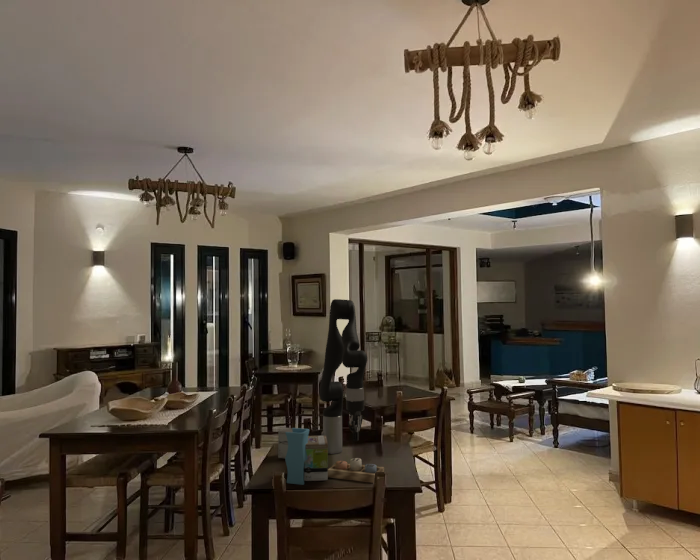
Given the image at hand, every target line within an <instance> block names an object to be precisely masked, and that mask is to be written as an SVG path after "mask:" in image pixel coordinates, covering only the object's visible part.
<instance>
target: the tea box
mask: <svg viewBox="0 0 700 560" xmlns="http://www.w3.org/2000/svg"><path fill="white" fill-rule="evenodd" d="M305 446H306V453H307V459H306V461H304V482H312V481H314V482H316V481H318V482H319V481H328V480H329V479H328V478H329V477H328V469H329V468H328V467H329V461H328V460H329V458H328V457H329V453H328V442H327V438H326V436H322V435H308V443H307V444H306V445H305Z"/></svg>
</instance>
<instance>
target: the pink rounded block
mask: <svg viewBox="0 0 700 560" xmlns="http://www.w3.org/2000/svg"><path fill="white" fill-rule="evenodd" d="M347 463H348V462H347V461H346V460H337V461H335V464H336V469H340V470H345V469H347Z"/></svg>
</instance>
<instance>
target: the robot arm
mask: <svg viewBox="0 0 700 560" xmlns="http://www.w3.org/2000/svg"><path fill="white" fill-rule="evenodd" d="M356 317H357V316H356V307H355V303H354V302H353V300H350V299H338V298H337V299H335V298H334V299H332V300H331V302H330V307H329V317H328V318H329V320H328V331H327V332H328V333H327V337H326V338H327V340H326V344H325V345H326V346H325V353H324V364H323V370H322V375H321V379H320V384H319V390H318V394H319V398H320V400H321V402H323V403H325V402H327V403H328V402H331V404H330V405H328V406H327V407H325V408H324V409H322V423H323V424H322V431H321V436H326V438H327V442H328V455H329V454H331V455H333V454H334V455H335V454H340V453H342V452H343V410H344V409H343V405H344V402H343V401H344V387H343V384H342V382H341V381H338V380H337V381H332V379H333V376H334V374H335V373H336V372H337V370H338V369H339V367H340V366H341V365H343V366H344V367H345V368H347V369H349V368H350V369H351V368H357V369H356V371H354V372H350V373H348V374H347V375H346V391H345V406H346V408H345V409H346V411H348V412H349V417H348V418H349V420H347V425H348V429H349V431H350V432H351V433H352V442H358V441H359V440H360V439H359V438H360V433H359V432H360V430H361V429H362V423H363V420H364V415H363V414H362V412H363V411H364V410H365V392H364V391H365V390H364V378H365V377H364V376H365V369H366V367H367V363H368V354H367V353H366V351H364V350H363V349H362V350H361V349H360V347H361V346H360V340H359V336H358V332H357V331H358V330H357V318H356ZM338 320H343V321H344V320H347V321H348V322H347V324H346V325H345V327H344V328H343V330H342V332H340V331H339V328H338V322H337V321H338Z"/></svg>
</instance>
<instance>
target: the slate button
mask: <svg viewBox="0 0 700 560" xmlns="http://www.w3.org/2000/svg"><path fill="white" fill-rule="evenodd" d="M364 465H365V472H367V473H376V472H377V465H376V464H374V463H366V464H364Z"/></svg>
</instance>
